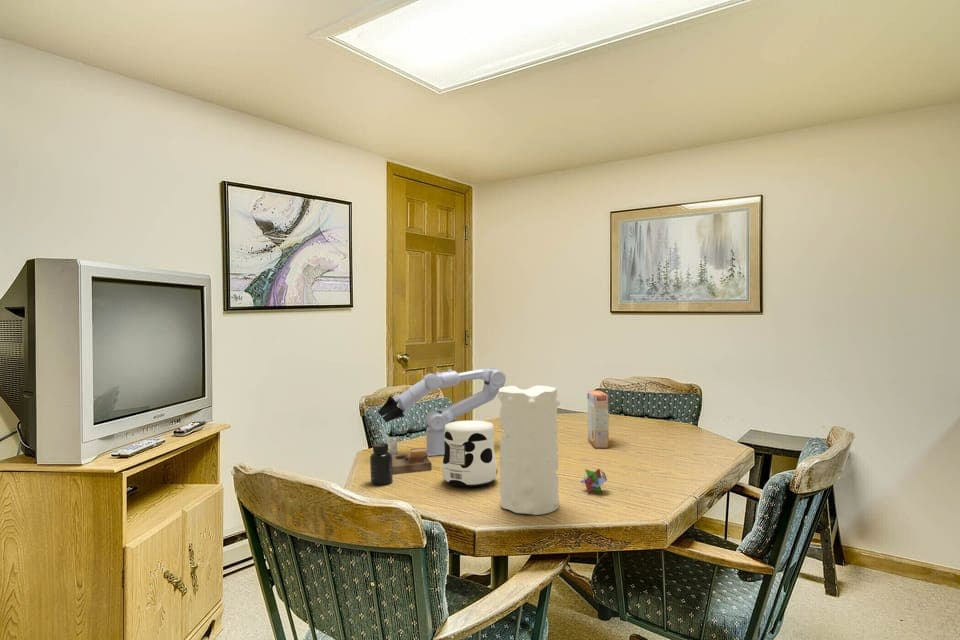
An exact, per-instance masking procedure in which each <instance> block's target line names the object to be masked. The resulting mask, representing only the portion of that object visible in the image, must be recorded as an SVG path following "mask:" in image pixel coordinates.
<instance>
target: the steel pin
mask: <svg viewBox="0 0 960 640" xmlns="http://www.w3.org/2000/svg"><path fill="white" fill-rule="evenodd" d="M388 441H389V443H388V448H389V450H388V452H390V453H391V455H395V454H398V436H390V437H388Z"/></svg>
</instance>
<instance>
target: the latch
mask: <svg viewBox="0 0 960 640" xmlns="http://www.w3.org/2000/svg"><path fill="white" fill-rule="evenodd" d="M426 450H427V447H417V448H410V452H409V453H410V456H409V460H417V459H424V456H425V455H426Z"/></svg>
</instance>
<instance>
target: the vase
mask: <svg viewBox="0 0 960 640" xmlns="http://www.w3.org/2000/svg"><path fill="white" fill-rule="evenodd" d="M496 397H497V399H499V401H500V402H501V407H500V410H499V417H498V421H499V422H498V428H499V429H501V430H503V434H502V435H500V438H499V467H500V468H499V469H500V470H499V471H500V473H499V476H500V477H499V481H500V484H499V485H500V491H499V494H500V495H499V496H500V502H499V505H500V507H501V508H502V509H505V510H509V511H511V512H514V513H515V514H522V515H523V514H526V515H534V516H541V515H546V514H550V513H552V512H555V511H556V510H557V509H558V508H559V506H560V504H561V503H560V494H559V476H558V474H557V470H559V455H558V451H559V447H558V445H559V444H558V429H559V428H558V420H557V416H558V407H559V406H560V405H561V400H560V399H559V398H558V389H557V388H556V387H554V386H548V385H539V384H538V385H534V386H531V387H530V388H527V389H526V388H525V389H522V388H519V387H518V386H516V385H508V386H504V387H502V388H500V389H499V392H498V394H497V395H496Z"/></svg>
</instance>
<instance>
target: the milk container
mask: <svg viewBox="0 0 960 640" xmlns="http://www.w3.org/2000/svg"><path fill="white" fill-rule="evenodd" d="M444 435H445V438H444V445H445V453H444V455H443V459H442V463H441V472H442V477H443V479H444V481H445V482H446V483H448V484H450V485H452V486H456V487H463V488H474V487H481V486H485V485H489V484H491V483H493V482H494V480H495V479H496V477H497V474H498V461H497V458H496V454H495V437H494V436H495V428H494V424H493V423H492V422H489V421H484V420H457V421H451V422H450V423H448V424H446V425H445V431H444Z"/></svg>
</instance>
